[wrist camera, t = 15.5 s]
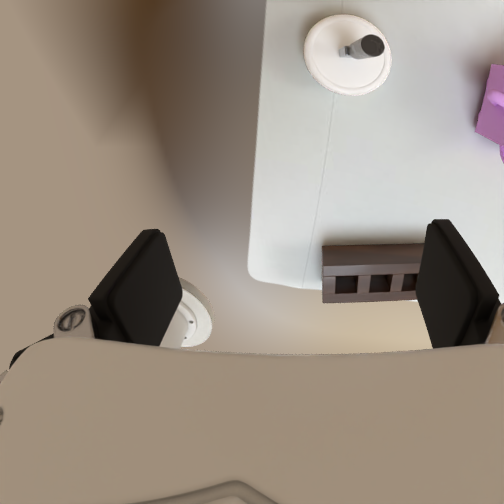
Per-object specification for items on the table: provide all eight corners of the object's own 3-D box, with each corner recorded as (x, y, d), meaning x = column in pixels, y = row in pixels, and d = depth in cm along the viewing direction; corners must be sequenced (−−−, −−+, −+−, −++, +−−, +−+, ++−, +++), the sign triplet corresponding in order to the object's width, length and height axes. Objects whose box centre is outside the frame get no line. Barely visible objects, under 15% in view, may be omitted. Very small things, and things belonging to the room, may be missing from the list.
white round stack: (376, 16, 26) (383, 11, 23) (390, 91, 31) (398, 93, 28) (295, 23, 29) (294, 18, 26) (312, 98, 34) (313, 100, 31)
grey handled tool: (361, 61, 27) (389, 57, 17) (339, 60, 28) (358, 56, 18) (359, 46, 26) (387, 35, 16) (338, 45, 27) (355, 33, 17)
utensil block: (420, 278, 45) (428, 298, 41) (321, 282, 49) (322, 303, 44) (428, 243, 42) (438, 262, 37) (321, 245, 45) (322, 265, 41)
